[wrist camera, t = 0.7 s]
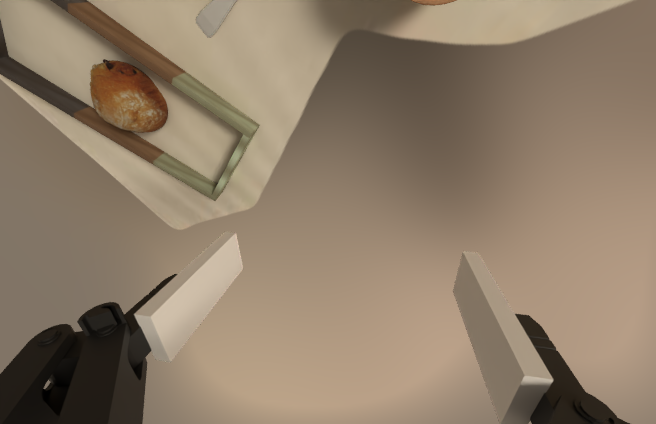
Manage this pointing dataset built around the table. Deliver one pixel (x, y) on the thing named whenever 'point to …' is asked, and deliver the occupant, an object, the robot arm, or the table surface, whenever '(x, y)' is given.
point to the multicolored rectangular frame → (152, 59)
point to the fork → (213, 16)
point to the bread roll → (127, 97)
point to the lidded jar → (433, 2)
